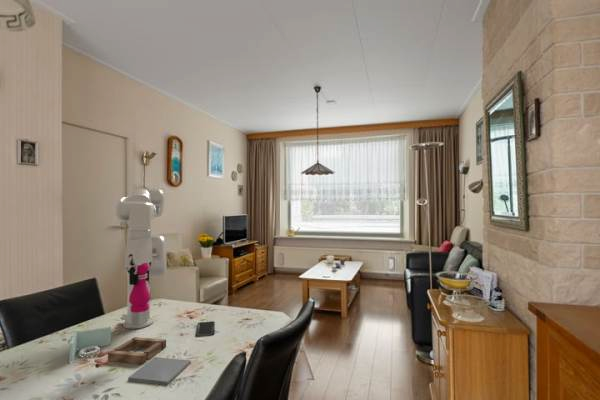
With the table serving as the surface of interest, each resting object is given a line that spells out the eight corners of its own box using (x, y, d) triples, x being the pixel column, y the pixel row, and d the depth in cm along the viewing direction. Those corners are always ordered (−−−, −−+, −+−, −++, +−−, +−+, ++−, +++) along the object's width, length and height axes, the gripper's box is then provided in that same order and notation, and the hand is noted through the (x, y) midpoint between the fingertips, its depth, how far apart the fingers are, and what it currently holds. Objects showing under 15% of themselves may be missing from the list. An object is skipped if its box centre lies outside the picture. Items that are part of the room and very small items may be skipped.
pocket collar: (107, 361, 115) (108, 352, 115) (134, 344, 128) (134, 337, 128) (142, 364, 112) (143, 356, 112) (166, 347, 126) (166, 339, 126)
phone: (195, 335, 136) (197, 322, 151) (195, 337, 136) (197, 324, 151) (214, 333, 138) (215, 321, 153) (214, 336, 138) (214, 323, 153)
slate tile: (128, 380, 102) (128, 377, 102) (155, 359, 116) (155, 356, 116) (168, 384, 100) (168, 381, 100) (190, 363, 113) (190, 360, 114)
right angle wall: (69, 364, 113) (69, 343, 113) (74, 351, 124) (75, 331, 124) (108, 357, 119) (109, 337, 119) (110, 345, 129) (110, 326, 129)
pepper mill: (154, 308, 123) (154, 256, 124) (139, 314, 116) (140, 259, 117) (139, 306, 125) (140, 255, 126) (124, 312, 119) (124, 258, 119)
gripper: (145, 232, 130) (145, 276, 130) (114, 237, 113) (113, 287, 113) (162, 233, 129) (161, 277, 129) (133, 237, 112) (132, 289, 112)
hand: (139, 282), depth 121 cm, fingers closed on pepper mill, 5 cm apart
